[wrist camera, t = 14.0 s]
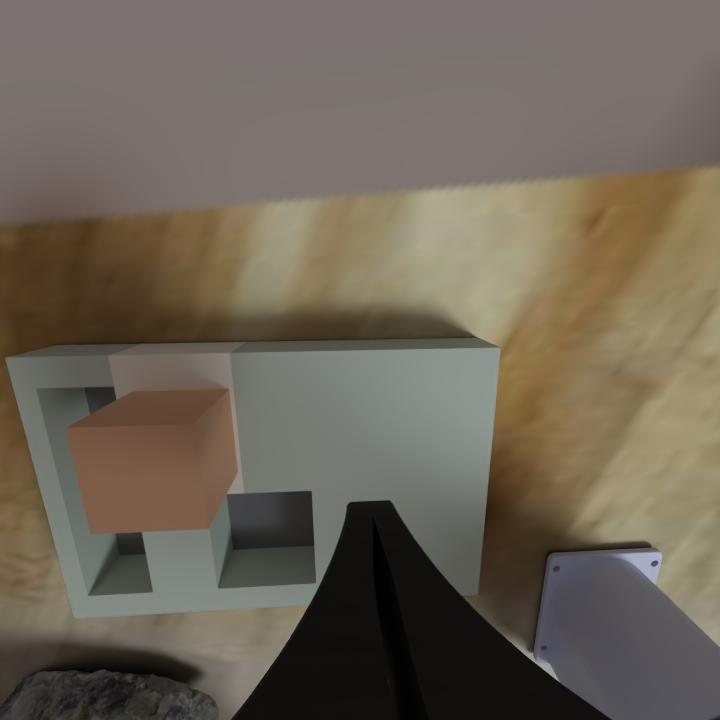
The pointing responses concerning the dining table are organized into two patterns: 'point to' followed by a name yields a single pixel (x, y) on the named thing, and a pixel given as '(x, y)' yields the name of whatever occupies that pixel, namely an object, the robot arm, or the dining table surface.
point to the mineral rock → (105, 698)
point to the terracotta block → (155, 460)
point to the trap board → (273, 462)
